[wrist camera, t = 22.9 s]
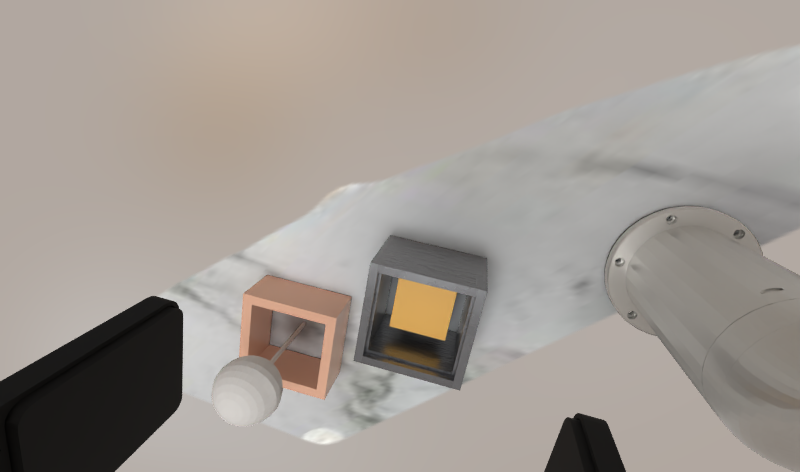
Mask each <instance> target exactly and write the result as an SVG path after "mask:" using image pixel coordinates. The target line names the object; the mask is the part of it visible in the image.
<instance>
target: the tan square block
mask: <svg viewBox="0 0 800 472" xmlns="http://www.w3.org/2000/svg"><path fill="white" fill-rule="evenodd" d="M456 295H457V292H453V291H449V290H445V289H441V288H437V287H433V286H429V285H425V284H421V283H417V282H413V281H409V280H405V279H401V278H399V280H398V285H397V290H396V295H395V300H394V305H393V310H392V315H391V320H390V326H391V327H395V328H398V329H402V330H406V331H410V332H413V333H417V334H421V335H425V336H428V337H432V338H436V339H440V340H444V341H445V339H446V335H447V331H448V327H449V323H450V319H451V315H452V311H453V307H454V303H455V299H456Z"/></svg>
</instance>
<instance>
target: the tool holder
mask: <svg viewBox="0 0 800 472" xmlns="http://www.w3.org/2000/svg"><path fill="white" fill-rule="evenodd" d="M351 298H352V297H351V296H347V295H343V294H339V293H335V292H331V291H328V290H324V289H320V288H316V287H312V286H308V285H304V284H301V283H297V282H293V281H289V280H285V279H281V278H277V277H274V276H270V275H266V276H265V277H264V278H263V279H261V280H260V281H259V282H257V283H256V284H255V285H254V286H252V287H251V288H250V289H248V290H247V291H246V292H245V293H243V306H242V322H241V337H240V353H239V357H243V356H249V355H255V356H260V357H263V358H266V359H267V360H269V361H270V360H271V359H272V358H273V356H274V355H275V354H276V353H277V352H278V351H279V349H280V347H276V346H272V345H269V343H270V332H271V321H272V310H274V311H278V312H281V313H285V314H289V315H292V316H296V317H300V318H303V319H307V320H311V321H314V322H318V323H322V324H326V326H325V333H324V341H323V348H322V355H321V359H319V358H315V357H312V356H308V355H304V354H301V353H297V352H294V351H290V350H287V349H285V350H284V352H283V353H282V354H281V355H280V356H279V358H278V359H277V360H276V361H275V362H274V365H275V366H276V368H277V369H278V371H279V373H280V375H281V378H282V384H283V388H286V389H289V390H293V391H296V392H300V393H303V394H306V395H310V396H313V397H317V398H320V399H323V400H325V398H326V396H327V394H328V392H329V390H330V389H331V387H332V385H333V383H334V381H335V379H336V378H337V376H338V374H339V372H340V366H341V360H342V354H343V348H344V341H345V335H346V329H347V323H348V316H349V310H350V304H351Z"/></svg>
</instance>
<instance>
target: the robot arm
mask: <svg viewBox="0 0 800 472" xmlns="http://www.w3.org/2000/svg"><path fill="white" fill-rule="evenodd" d="M668 216H670V219H669V220H666V218H667V217H668ZM735 231H736V233H734V232H735ZM618 258H620V260H619V261H615V260H616V259H618ZM605 286H606V290H607V294H608V296H609V298H610V300H611V302H612V304H613V306H614V307H615V309H616V310H617V311H618V313H619V314H620V315H621V316H622V317H623V318H624V319H625V320H626V321H627V322H628V323H630V324H631V325H633V326H634V327H636V328H637V329H639V330H641V331H644V332H646V333H648V334H651V335H655V336H658V338H659V339H660V340H661V342H662V343H663V344H664V346H665V347H666V348H667V349H668V351H669V352H670V354H671V355H672V356H673V357H674V359H675V360H676V362H677V363H678V364H679V365H680V367H681V368H682V370H683V371H684V372H685V374H686V375H687V376H688V377H689V379H690V380H691V381H692V383H693V384H694V385H695V387H696V388H697V389H698V391H699V392H700V393H701V395H702V396H703V397H704V399H705V400H706V401H707V403H708V404H709V405H710V407H711V408H712V409H713V411H714V412H715V413H716V414H717V416H718V417H719V418H720V420H721V421H722V422H723V423H724V425H725V426H726V427H727V428H728V429H729V430H730V431H731V432H732V433H733V435H734V436H735V437H737V438H738V439H739V440H740V441H741V442H742V443H743V444H745V445H746V446H747V447H748V448H750V449H751V450H753V451H754V452H756V453H757V454H759V455H761V456H762V457H764V458H766V459H767V460H769V461H771V462H773V463H775V464H777V465H780V466H782V467H785V468H787V469H790V470H792V471H795V472H800V276H799V275H797V274H796V273H794V272H792V271H790V270H788V269H786V268H784V267H782V266H781V265H779V264H777V263H775V262H773V261H771V260H769V259H768V258H766V257H764V256H763V253H762V250H761V248H760V245H759V243H758V241H757V239H756V238H755V237H754V235H753V234H752V233H751V231H750V230H749V229H748V228H747V227H745V226H744V225H743V224H742V223H741V222H739V221H738V220H736V219H734V218H732V217H730V216H729V215H727V214H724V213H722V212H719V211H717V210H714V209H709V208H704V207H697V206H682V207H674V208H668V209H665V210H662V211H658V212H655V213H653V214H651V215H649V216H647V217H645V218H643V219H641V220H639V221H638V222H637V223H635V224H634V225H632V226H631V227H629V228H628V229H627V230H626V232H625V233H624V234H623V235H622V236H621V237H620V238H619V239H618V241H617V242H616V243H615V245H614V246H613V248H612V250H611V252H610V254H609V257H608V259H607V263H606V268H605ZM630 311H632V312H630ZM629 312H630V313H629ZM182 364H183V312H182V310H180V309H179V306H178V304H177V303H176V302H174V301H171V300H167V299H164V298H160V297H156V296H151V297H149V298H146V299H144V300H143V301H141V302H139V303H137V304H136V305H134V306H132V307H130V308H129V309H127V310H125V311H123V312H122V313H120V314H118V315H116V316H115V317H113V318H111V319H109V320H108V321H106V322H104V323H102V324H100V325H99V326H97V327H95V328H93V329H92V330H90V331H88V332H86V333H85V334H83V335H81V336H80V337H78V338H76V339H74V340H72V341H71V342H69V343H67V344H65V345H64V346H62V347H60V348H58V349H57V350H55V351H53V352H51V353H50V354H48V355H46V356H44V357H42V358H41V359H39V360H37V361H35V362H34V363H32V364H30V365H28V366H27V367H25V368H23V369H22V370H20V371H18V372H16V373H14V374H13V375H11V376H9V377H7V378H6V379H4V380H2V381H0V472H115V470H117V469H118V468H119V467H120V466H121V465H122V464H123V463H124V462H125V461H126V460H127V459H128V458H129V457H130V456H131V455H132V454H133V453H134V452H135V451H136V450H137V449H138V448H139V447H140V446H141V445H142V444H143V443H144V442H145V441H146V440H147V439H148V438H149V437H150V436H151V435H152V434H153V433H154V432H155V431H156V430H157V429H158V428H159V427H160V426H161V425H162V424H163V423H164V422H165V421H166V420H167V419H168V418H169V417H170V416H171V415H172V414H173V413H174V412H175V411H176V410H177V408H178V407H179V405H180V403H181V399H182ZM544 472H626V470H625V468H624V465H623V463H622V460H621V458H620V455H619V452H618V450H617V447H616V444H615V442H614V439H613V437H612V434H611V432H610V429H609V426H608V424H607V423H606V421H604V420H602V419H598V418H594V417H591V416H587V415H583V414H580V413H577V414H576V415H575V416H574V418H573V419H572V418H569V417H567V418H566V419H565V420H564V423H563V425H562V428H561V430H560V433H559V435H558V438H557V440H556V443H555V446H554V448H553V451H552V453H551V456H550V459H549V461H548V464H547V466H546V469H545V471H544Z"/></svg>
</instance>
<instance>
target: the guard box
mask: <svg viewBox="0 0 800 472" xmlns="http://www.w3.org/2000/svg"><path fill="white" fill-rule="evenodd" d="M392 276H393V277H397V278H401V279H405V280H409V281H413V282H417V283H421V284H425V285H429V286H433V287H437V288H441V289H445V290H449V291H453V292H457V293H461V294H465V295H467V296H466V300H465V304H464V308H463V312H462V315H461V319H460V323H459V327H458V331H457V333H456V332H452V331H449V330H448V331H447V335H446V339H445V341H444V340H440V339H436V338H432V337H428V336H425V335H421V334H417V333H413V332H410V331H406V330H402V329H398V328H395V327H391V326H390V320H391V315H388V314H385V312H386V307H387V302H388V296H389V291H390V286H391V281H392ZM486 295H487V258H484V257H480V256H476V255H471V254H467V253H463V252H459V251H455V250H450V249H446V248H442V247H438V246H433V245H429V244H425V243H421V242H417V241H412V240H408V239H404V238H400V237H396V236H391V235H390V237H389V238H388V239H387V241H386V242H385V243H384V245H383V246H382V247H381V249H380V250H379V252H378V253H377V254H376V256H375V257H374V258H373V260H372V261H371V263H370V268H369V274H368V280H367V286H366V292H365V298H364V303H363V309H362V315H361V321H360V327H359V333H358V338H357V344H356V350H355V356H354V361H356V362H360V363H364V364H367V365H371V366H374V367H378V368H382V369H385V370H389V371H392V372H396V373H399V374H403V375H407V376H410V377H414V378H417V379H421V380H425V381H428V382H432V383H435V384H439V385H442V386H446V387H450V388H453V389H457V390H460V388H461V385H462V381H463V378H464V374H465V370H466V367H467V363H468V360H469V356H470V352H471V349H472V345H473V342H474V338H475V334H476V331H477V327H478V324H479V320H480V316H481V313H482V309H483V305H484V302H485V298H486Z"/></svg>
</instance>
